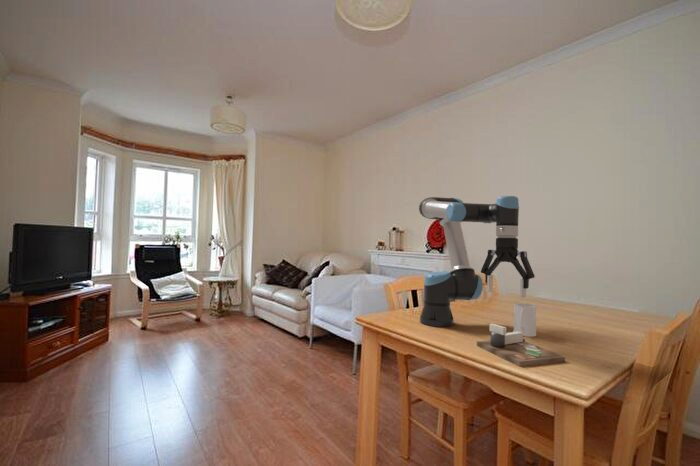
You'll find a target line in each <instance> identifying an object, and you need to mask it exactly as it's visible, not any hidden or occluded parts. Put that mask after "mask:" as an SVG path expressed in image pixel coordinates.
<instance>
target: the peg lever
mask: <svg viewBox="0 0 700 466" xmlns="http://www.w3.org/2000/svg"><path fill="white" fill-rule="evenodd" d="M488 330H489V332H490V339H489V340H490V345H492V346H494V347H505V345H506V344H512V343H517V342H523V341H525V342H526V339H525V338H524V336H523V333H522V332H519V331H516V332H513V331H512V332H507V327H506V326H503V325H499V324H495V323H489V329H488Z"/></svg>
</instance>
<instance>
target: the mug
mask: <svg viewBox="0 0 700 466" xmlns="http://www.w3.org/2000/svg"><path fill="white" fill-rule="evenodd" d="M536 322H537V305H534V304H532V303H524V302H515V303H514V304H513V330H512V332H516V331H519V332H522V333H523V337H528V338H533V337H536V336H537V323H536Z"/></svg>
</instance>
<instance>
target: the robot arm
mask: <svg viewBox="0 0 700 466" xmlns="http://www.w3.org/2000/svg"><path fill="white" fill-rule="evenodd" d="M519 209H520V206H519V198H518V197H517V196H515V195H503V196H498V197H497V198H496V202H495V203H469V202H463V200H461V199H460V198H458V197H457V198H455V197H438V196H430V197H426V198H424V199H423V200H422V201H421V202H419V207H418V212H419V214H420V215H421V217H423V218H424V219H425V218H426V219H428V220H438V221H439V223H438V224H439V225H440V226H441V227H443V232H444V237H445V243H446V247H447V252H448V258H449V263H450V268H451V269H450V271H445V270H444V271H443V270H442V271H432V272H428V273H426V274H425V276H424V280H423V281H424V282H423V284H424V285H423V286H424V287H423V289H424V290H423V291H424V292H423V306H422V309H421V312H420V316H419V323H421V324H423V325H426V326H431V327H438V328H439V327H440V328H443V327H452V326H454V323H455V320H454V316H453V313H452V310H451V301H473V300H478V299H479V298H480V297H481V295H482V292H483V287H484V285H483V284H484V282H485V283H486V284H487V285H486V287H487V288H486V293H493V289H494V287H493V285H494V275H493V272H494V271H495V270H496V268H497V267H498V266H499V265H500V264H501V263H505V262H506V263H511V264H512V265H513V266H514V267H515V269H516V271H517V272H518V273H519V275H520V277H521V279H520V289H519V290H520V293H519V298H520V299H521V298H523V299H524V298H526V297H527V290H528V289H529V286H530V284H529V282H530V280H531V279H534V278H535V277H536V275H535V273H534V271H533V267H532V266H531V263H530V261H529V258H528V251H525V250H524V251H519V250H518V248H519V238H517V237H519V211H520V210H519ZM461 223H483V224H492V223H495V235H496V238H495V250H494V249H488V250H487V256H486V258H485V260H484V263H483V265H482V266H481V270H480V273H481V274H484V275H485V277H484V279H485V281H484V282H483V279H482V277H481V276H480V275H478V274H476V272H475V269H474V268H473V267H471V265H470V261H469V256H468V251H467V247H466V243H465V238H464V232H463V229H462V228H463V227H462V224H461ZM495 255H496V257H495V258H494V256H495ZM518 256H519V258H520V260H521V263H522V265H523V266H522V265H521V263H520V261H519V260H518V258H517V257H518ZM493 259H494V260H493ZM492 260H493V262H492Z"/></svg>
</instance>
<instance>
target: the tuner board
mask: <svg viewBox="0 0 700 466" xmlns="http://www.w3.org/2000/svg"><path fill="white" fill-rule="evenodd" d="M476 346H477V347H479V348H481V349H482V350H485V351H487V352H489V353H491V354H493V355H495V356H497V357H499V358H501V359H504V360H506V361H508V362H509V363H511V364H513V365H515V366H518V367H528V366H537V365H538V364H539V365H547V364H554V363H555V364H556V363H565V362H566V356H563V355H561V354H558V353H556V352H553V351H551V350H548V349H547V348H546V349H545V348H543V347H540V346H538V345H535V344H533V343H530V342H527V341H526V340H525V341H523V342H517V343H512V344H506V345H505V347H494V346H492V345H490V339H489V340H477V341H476Z"/></svg>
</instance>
